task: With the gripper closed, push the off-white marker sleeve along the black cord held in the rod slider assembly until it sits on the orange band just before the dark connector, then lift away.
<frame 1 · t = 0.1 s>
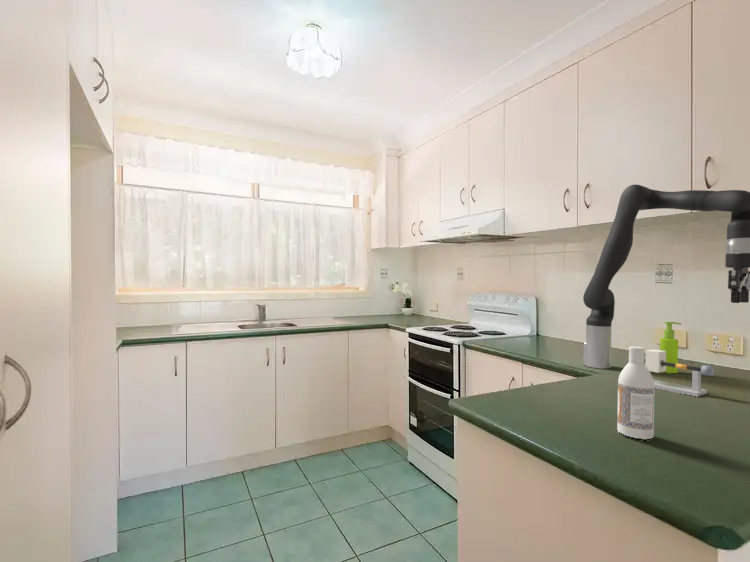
hand: (739, 302, 130), 29 cm above the countertop, tool pointing down, fingers open, 8 cm apart
sleeve: (655, 360, 137), point 9 cm above the countertop, slide at 0.0 cm
soap dispenser: (669, 372, 159), on the countertop
bath foam: (635, 436, 91), on the countertop
rod slider assembly: (665, 387, 134), on the countertop
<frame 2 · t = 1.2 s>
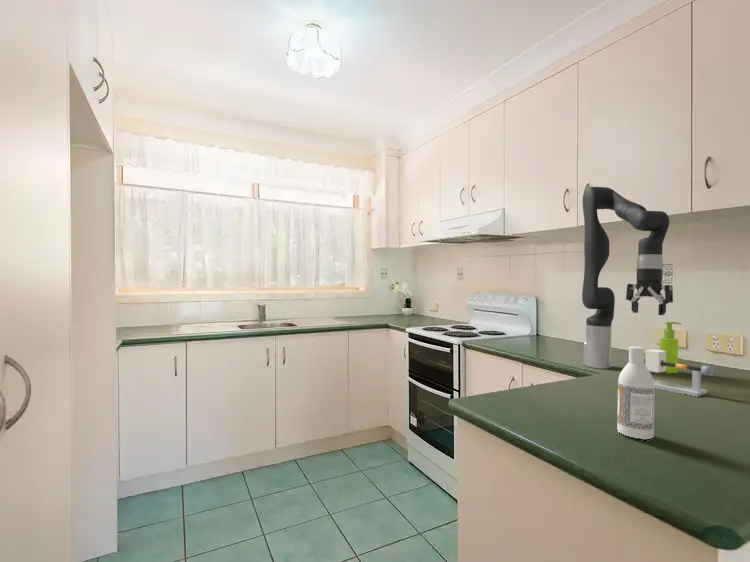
hand: (648, 313, 141), 24 cm above the countertop, tool pointing down, fingers open, 8 cm apart
nothing on the countertop moved.
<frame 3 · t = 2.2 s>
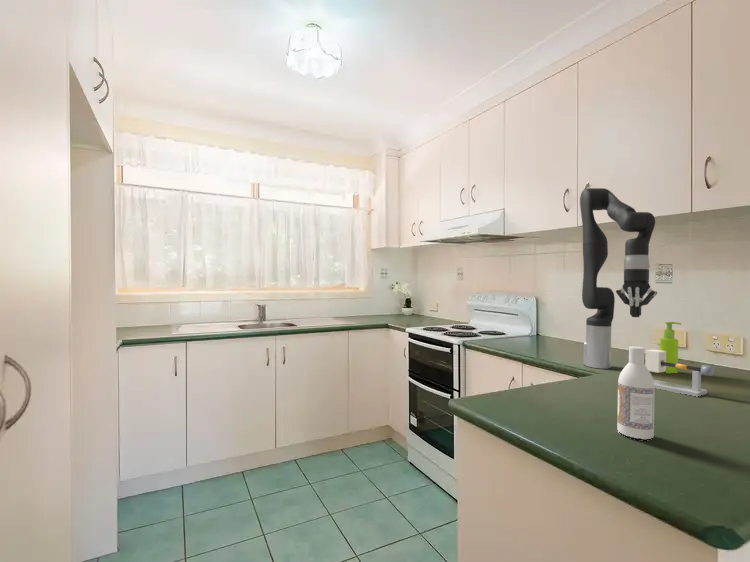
hand: (635, 316, 142), 23 cm above the countertop, tool pointing down, fingers closed
nothing on the countertop moved.
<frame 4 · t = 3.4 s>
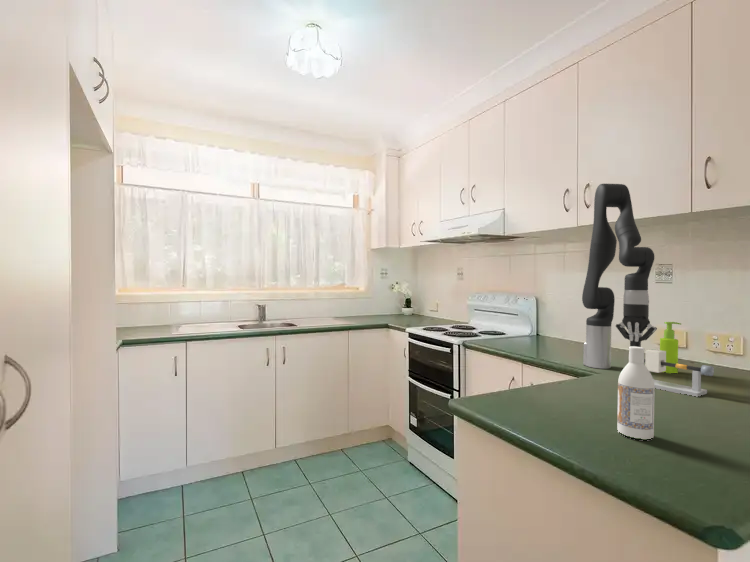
hand: (635, 351, 142), 11 cm above the countertop, tool pointing down, fingers closed
nothing on the countertop moved.
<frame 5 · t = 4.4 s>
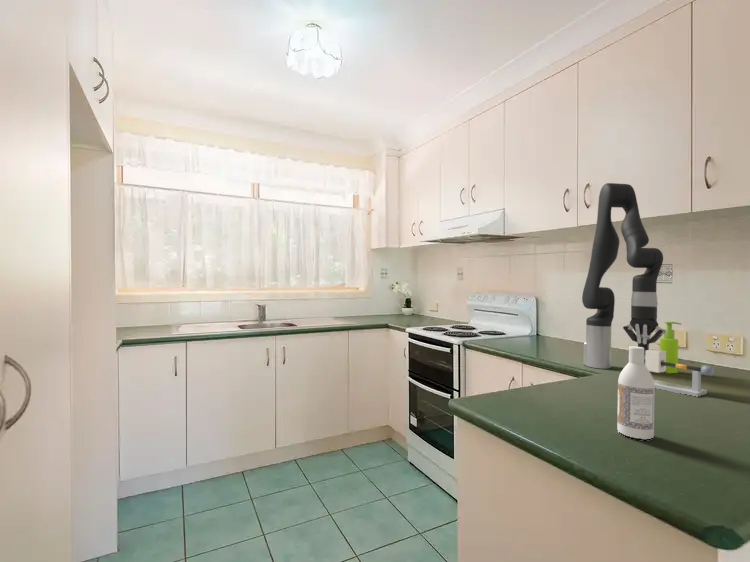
hand: (643, 354, 140), 10 cm above the countertop, tool pointing down, fingers closed
sleeve: (655, 360, 137), point 9 cm above the countertop, slide at 0.0 cm, touching gripper
everything else where it was.
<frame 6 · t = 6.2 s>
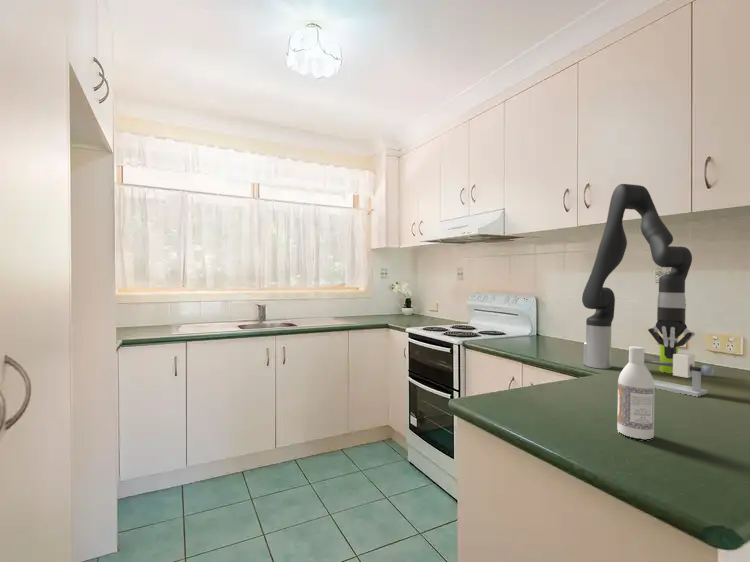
hand: (670, 358, 133), 10 cm above the countertop, tool pointing down, fingers closed
sleeve: (683, 365, 130), point 9 cm above the countertop, slide at 8.0 cm, touching gripper
everything else where it was.
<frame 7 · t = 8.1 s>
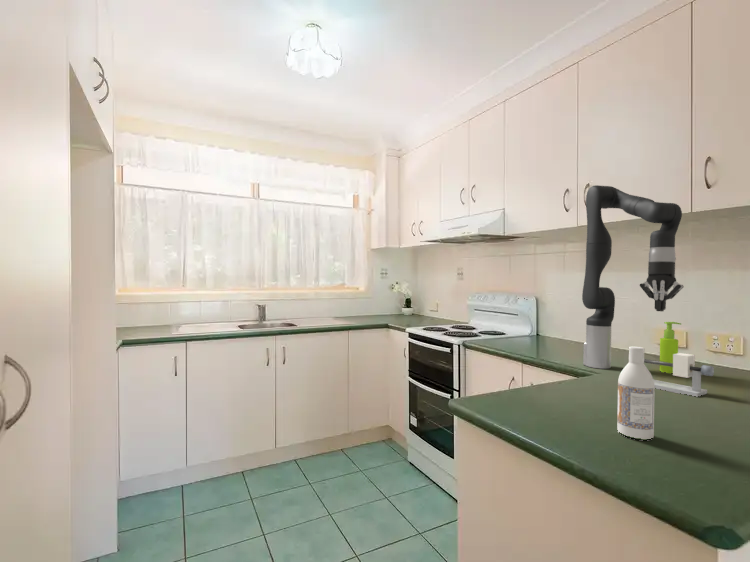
hand: (660, 311, 138), 25 cm above the countertop, tool pointing down, fingers closed
sleeve: (683, 365, 130), point 9 cm above the countertop, slide at 8.0 cm
everything else where it was.
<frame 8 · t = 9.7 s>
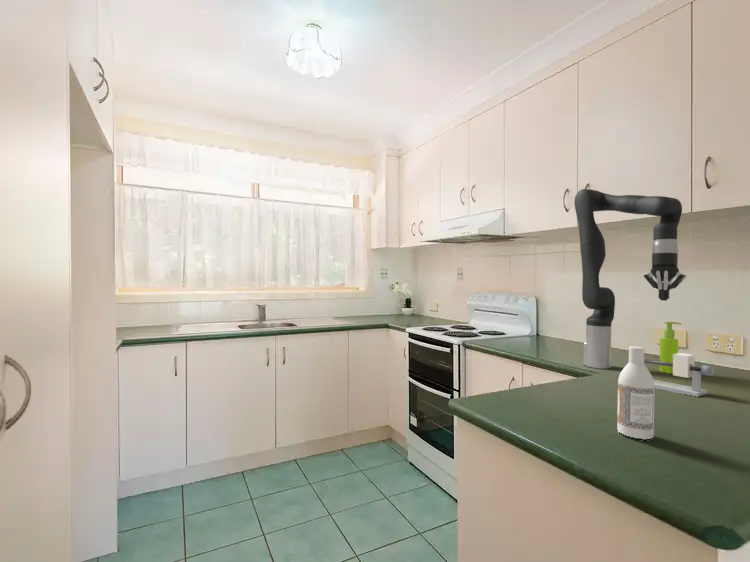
hand: (663, 300, 144), 29 cm above the countertop, tool pointing down, fingers closed
nothing on the countertop moved.
at the end: sleeve slide at 8.0 cm; the gripper is holding nothing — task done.
